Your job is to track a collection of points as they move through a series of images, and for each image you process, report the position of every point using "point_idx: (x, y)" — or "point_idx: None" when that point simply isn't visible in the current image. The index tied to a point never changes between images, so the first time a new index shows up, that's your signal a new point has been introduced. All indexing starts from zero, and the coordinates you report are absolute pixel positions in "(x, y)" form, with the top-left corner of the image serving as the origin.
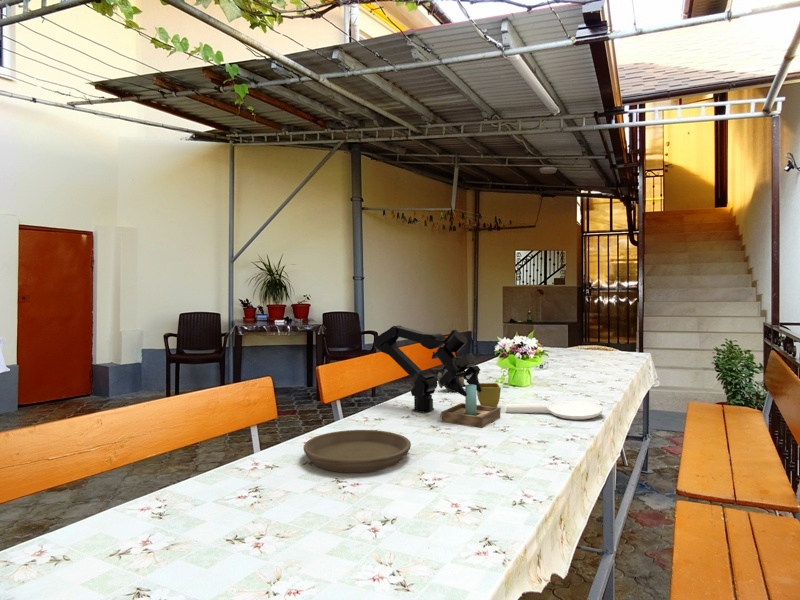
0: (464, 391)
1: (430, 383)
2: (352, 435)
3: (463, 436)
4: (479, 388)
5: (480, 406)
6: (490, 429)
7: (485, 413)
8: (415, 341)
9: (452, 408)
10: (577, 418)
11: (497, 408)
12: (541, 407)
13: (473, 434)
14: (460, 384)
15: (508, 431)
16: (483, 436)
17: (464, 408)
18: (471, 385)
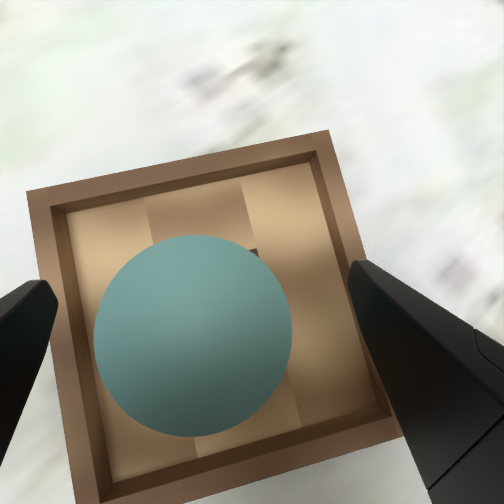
0: (393, 280)
1: None
2: None
3: (487, 133)
4: (26, 306)
5: (72, 333)
6: (305, 111)
7: (141, 248)
8: None
9: (275, 450)
10: None
11: (50, 197)
12: None
13: (430, 120)
14: (481, 366)
15: (271, 33)
16: (419, 70)
17: (120, 453)
18: (187, 323)
